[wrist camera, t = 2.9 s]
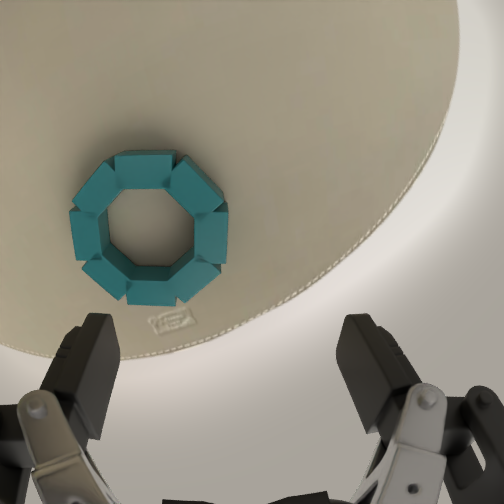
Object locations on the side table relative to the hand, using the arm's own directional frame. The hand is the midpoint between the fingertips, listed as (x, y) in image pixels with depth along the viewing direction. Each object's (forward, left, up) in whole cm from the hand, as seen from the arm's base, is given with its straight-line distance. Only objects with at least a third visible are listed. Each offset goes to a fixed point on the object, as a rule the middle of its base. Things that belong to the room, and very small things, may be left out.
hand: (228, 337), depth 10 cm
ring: (-5, 0, -12) cm, 12 cm away
